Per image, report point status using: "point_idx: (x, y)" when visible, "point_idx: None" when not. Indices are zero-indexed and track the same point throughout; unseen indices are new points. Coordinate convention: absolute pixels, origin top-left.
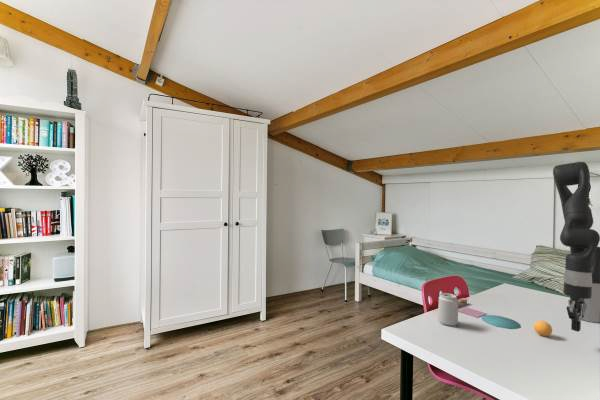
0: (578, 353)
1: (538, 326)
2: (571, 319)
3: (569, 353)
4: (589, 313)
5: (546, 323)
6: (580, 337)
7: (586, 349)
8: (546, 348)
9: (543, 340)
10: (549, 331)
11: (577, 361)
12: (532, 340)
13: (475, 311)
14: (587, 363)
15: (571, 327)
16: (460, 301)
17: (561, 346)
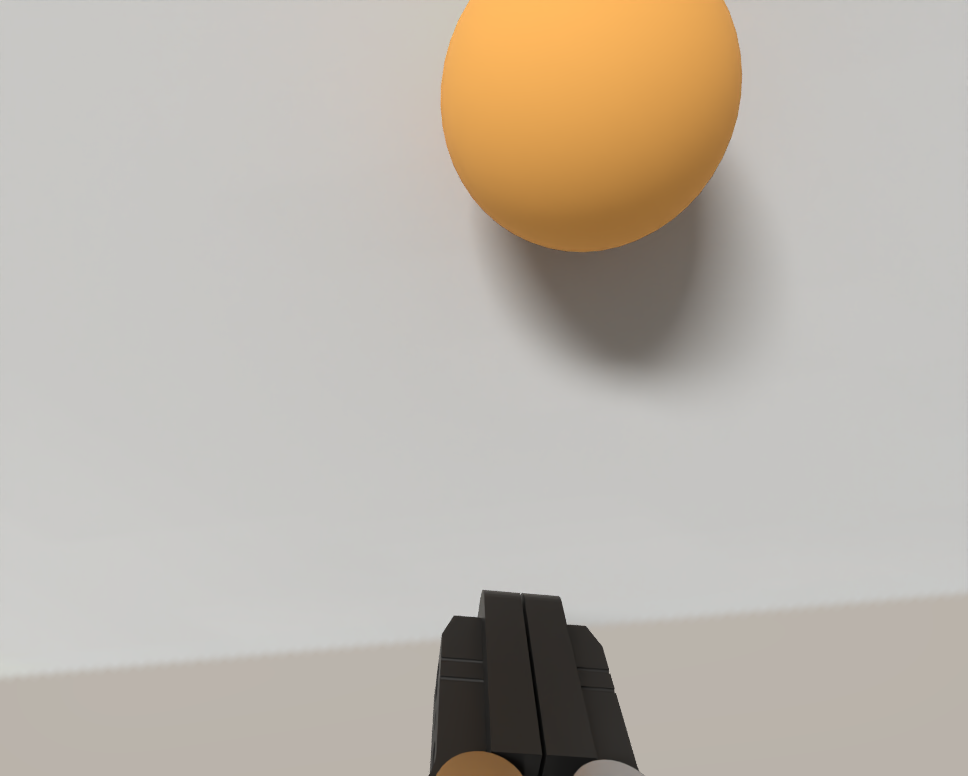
0: (281, 540)
1: (461, 31)
2: (460, 763)
3: (179, 478)
4: None
5: (570, 162)
6: (906, 485)
7: (501, 577)
8: (57, 265)
9: (340, 170)
10: (501, 225)
11: (22, 562)
12: (174, 46)
13: None
14: (74, 626)
15: (482, 611)
16: None
17: (332, 382)
